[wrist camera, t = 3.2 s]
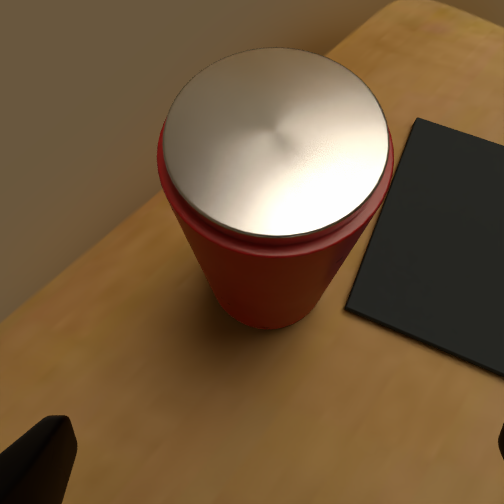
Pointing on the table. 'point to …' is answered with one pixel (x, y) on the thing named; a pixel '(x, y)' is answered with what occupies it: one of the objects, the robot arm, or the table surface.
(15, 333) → the table surface
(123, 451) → the table surface
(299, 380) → the table surface
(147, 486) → the table surface
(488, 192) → the desk mat
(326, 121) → the red can
